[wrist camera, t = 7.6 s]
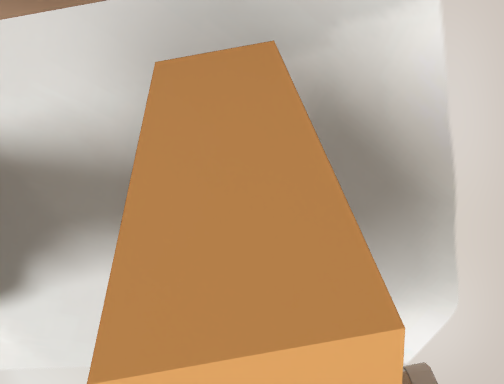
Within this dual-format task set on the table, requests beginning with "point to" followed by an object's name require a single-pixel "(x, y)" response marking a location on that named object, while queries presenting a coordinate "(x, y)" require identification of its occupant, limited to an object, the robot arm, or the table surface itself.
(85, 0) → the brown stool
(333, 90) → the table surface
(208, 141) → the orange arch brick
